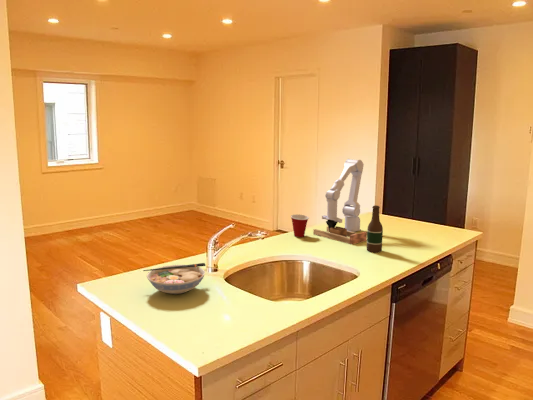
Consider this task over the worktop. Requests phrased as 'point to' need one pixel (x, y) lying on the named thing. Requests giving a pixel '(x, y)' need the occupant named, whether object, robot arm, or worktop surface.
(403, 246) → the worktop surface
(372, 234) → the beer bottle
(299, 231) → the plastic cup
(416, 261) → the worktop surface
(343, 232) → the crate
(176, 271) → the ramen bowl
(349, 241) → the bay
